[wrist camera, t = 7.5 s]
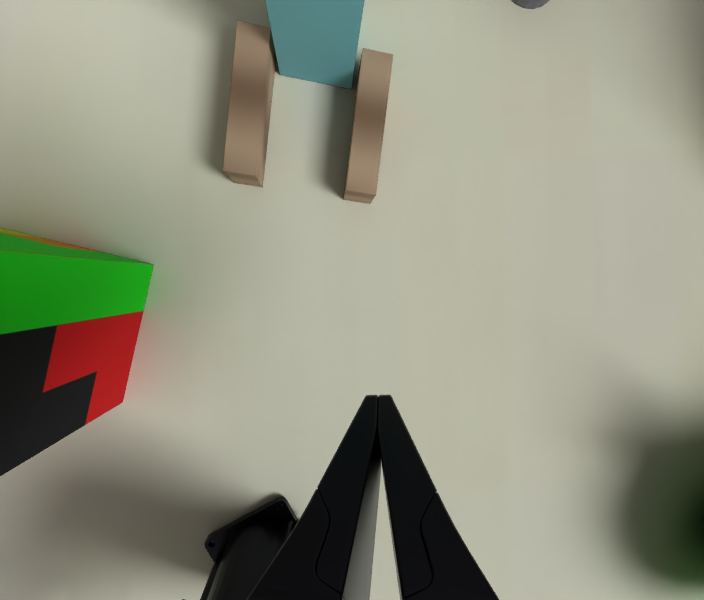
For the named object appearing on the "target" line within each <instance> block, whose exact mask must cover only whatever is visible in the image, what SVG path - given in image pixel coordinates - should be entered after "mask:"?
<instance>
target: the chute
mask: <svg viewBox="0 0 704 600" xmlns="http://www.w3.org/2000/svg"><path fill="white" fill-rule="evenodd" d="M392 60H393V54H388V53H383V52H379V51H374V50H370V49H365V48H363V50H362V56H361V61H360V67H359V73H358V81H357V90H356V98H355V107H354V115H353V124H352V132H351V141H350V149H349V158H348V166H347V175H346V183H345V192H344V200H350V201H356V202H363V203H369V204H370V203H371V202H372V200H373V199H374V197H375V195H376V190H377V182H378V174H379V165H380V157H381V149H382V141H383V133H384V125H385V117H386V109H387V100H388V92H389V84H390V76H391V68H392ZM275 63H276V52H275V47H274V42H273V37H272V32H271V28H268V27H263V26H259V25H254V24H249V23H245V22H240V21H237V29H236V39H235V49H234V60H233V70H232V81H231V91H230V101H229V112H228V122H227V133H226V143H225V153H224V164H223V171H224V172H225V173H226V175H227V176H228V177H229V178H230V179H231V180H232V181H233V182H234V183H240V184H246V185H253V186H259V187H263V179H264V170H265V160H266V150H267V140H268V131H269V121H270V111H271V102H272V92H273V82H274V73H275Z"/></svg>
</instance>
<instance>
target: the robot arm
mask: <svg viewBox="0 0 704 600" xmlns="http://www.w3.org/2000/svg"><path fill="white" fill-rule="evenodd" d="M381 461H382V469H383V477H384V484H385V491H386V499H387V506H388V513H389V520H390V528H391V535H392V542H393V549H394V557H395V564H396V571H397V579H398V586H399V593H400V600H499V599H498V597H497V595H496V594H495V592H494V591H493V589H492V587H491V586H490V584H489V582H488V581H487V579H486V578H485V576H484V574H483V573H482V571H481V569H480V568H479V566H478V565H477V563H476V561H475V560H474V558H473V556H472V555H471V553H470V552H469V550H468V548H467V547H466V545H465V543H464V541H463V540H462V538H461V536H460V534H459V533H458V531H457V529H456V528H455V526H454V524H453V522H452V520H451V518H450V516H449V514H448V512H447V510H446V508H445V506H444V504H443V502H442V500H441V498H440V496H439V494H438V493H437V490H436V488H435V486H434V484H433V482H432V480H431V478H430V475H429V473H428V471H427V469H426V467H425V465H424V463H423V461H422V459H421V457H420V455H419V453H418V450H417V448H416V446H415V444H414V442H413V440H412V438H411V436H410V434H409V432H408V430H407V428H406V426H405V423H404V421H403V419H402V417H401V415H400V413H399V411H398V409H397V407H396V405H395V403H394V401H393V399H392V397H391V395H379V397H378V396H377V395H367V396H366V397H365V398H364V400H363V402H362V404H361V406H360V408H359V409H358V411H357V413H356V415H355V417H354V419H353V421H352V423H351V425H350V426H349V428H348V430H347V432H346V434H345V436H344V438H343V440H342V442H341V443H340V445H339V447H338V449H337V451H336V453H335V455H334V457H333V459H332V460H331V462H330V464H329V466H328V468H327V470H326V472H325V474H324V476H323V477H322V479H321V481H320V483H319V485H318V489H316V490H315V492H314V494H313V496H312V498H311V500H310V502H309V504H308V505H307V507H306V509H305V511H304V512H303V514H302V516H301V518H300V520H299V519H297V517H296V515H295V514H294V512H293V510H292V508H291V507H290V505H289V503H288V501H287V500H286V498H284V497H279V498H277V499H275V500H273V501H271V502H269V503H267V504H265V505H264V506H262V507H260V508H258V509H256V510H254V511H252V512H251V513H249V514H247V515H245V516H243V517H241V518H239V519H238V520H236V521H234V522H232V523H230V524H228V525H226V526H225V527H223V528H221V529H219V530H217V531H215V532H213V533H212V534H210V535H209V536H208V537H207V539H206V542H205V548H206V549H207V551H208V553H209V554H210V556H211V558H212V559H213V561H214V565H213V568H212V570H211V573H210V575H209V578H208V581H207V583H206V586H205V588H204V591H203V594H202V596H201V599H200V600H369V597H370V586H371V575H372V564H373V553H374V542H375V531H376V520H377V509H378V498H379V487H380V475H381ZM279 504H282V505H283V506H278V505H279ZM211 541H214V542H215V543H212V542H211ZM182 600H184V599H182Z"/></svg>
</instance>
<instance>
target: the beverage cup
mask: <svg viewBox="0 0 704 600" xmlns="http://www.w3.org/2000/svg"><path fill="white" fill-rule="evenodd" d="M512 1H513V2H515V3H516V4H517V5H519V6H521V7H524V8H531V9H534V8H538V7H541V6H543V5H544V4H546V3H547V2H548V1H549V0H512Z"/></svg>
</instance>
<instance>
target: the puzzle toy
mask: <svg viewBox="0 0 704 600" xmlns="http://www.w3.org/2000/svg"><path fill="white" fill-rule="evenodd" d="M153 266H154V265H151V264H147V263H143V262H139V261H135V260H131V259H127V258H123V257H119V256H114V255H110V254H106V253H102V252H98V251H94V250H90V249H86V248H82V247H77V246H73V245H69V244H65V243H61V242H57V241H53V240H49V239H44V238H40V237H36V236H32V235H28V234H24V233H20V232H16V231H12V230H7V229H3V228H0V476H1V475H3V474H5V473H6V472H8V471H10V470H11V469H13V468H15V467H16V466H18V465H20V464H21V463H23V462H25V461H26V460H28V459H30V458H31V457H33V456H35V455H36V454H38V453H40V452H41V451H43V450H44V449H46V448H48V447H49V446H51V445H53V444H54V443H56V442H58V441H59V440H61V439H63V438H64V437H66V436H68V435H69V434H71V433H73V432H74V431H76V430H78V429H79V428H81V427H83V426H84V425H86V424H87V423H89V422H91V421H92V420H94V419H96V418H97V417H99V416H101V415H102V414H104V413H106V412H107V411H109V410H111V409H112V408H114V407H116V406H117V405H119V404H121V403H122V402H123V398H124V394H125V390H126V385H127V381H128V376H129V372H130V368H131V363H132V359H133V354H134V350H135V345H136V341H137V337H138V332H139V328H140V323H141V319H142V315H143V310H144V306H145V301H146V297H147V292H148V288H149V284H150V279H151V275H152V270H153Z"/></svg>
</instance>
